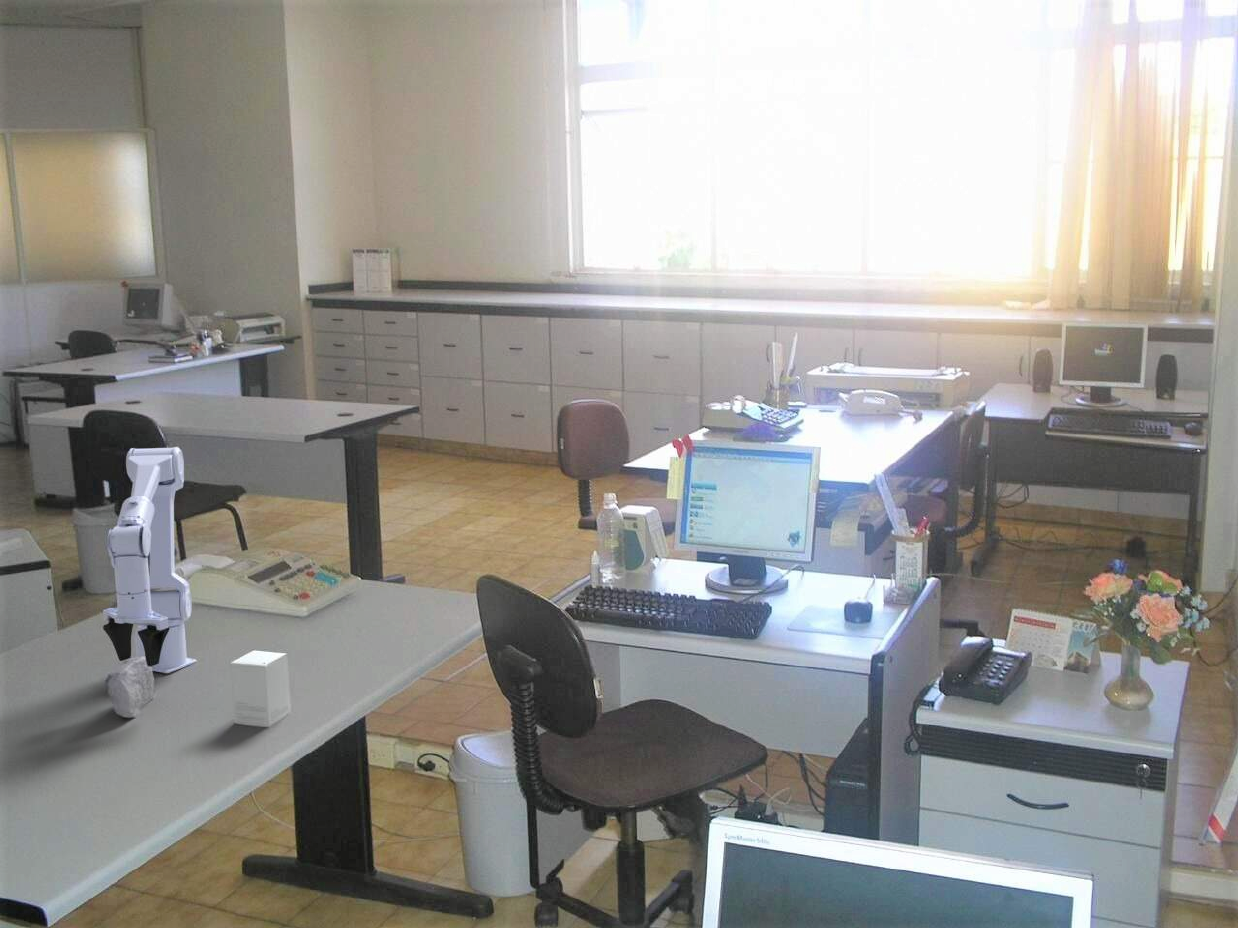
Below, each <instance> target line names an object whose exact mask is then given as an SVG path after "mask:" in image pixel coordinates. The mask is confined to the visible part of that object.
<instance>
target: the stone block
mask: <svg viewBox="0 0 1238 928" xmlns="http://www.w3.org/2000/svg"><path fill="white" fill-rule="evenodd" d="M153 672H154V671H152V669H151V667H149V666H147V663H146V657H144V656H139V657H136V656H135V657H131V658H129V659H126V660H124V662H123V663H122V664H120V665H119V666H118V667H116V668H115V669H114V670H113V671H111V672H110V673H108V675H107V678H106V679H105V680H104V682H105V685H106V687H107V693H108V695H109V697H110V700H111V704H112V708H113V710H114V712H115V714H116V715H118V716H120V717H123V718H125V719H126V718H127V719H134V718H136V717H138V715H139V714H140V710H141V709H142V708H143V707H145V706H147V704H148V703H150V701H152V700H153V699H155V693H156V690H155V677H154V674H153ZM139 709H140V710H139Z"/></svg>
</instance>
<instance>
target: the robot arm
mask: <svg viewBox="0 0 1238 928" xmlns="http://www.w3.org/2000/svg"><path fill="white" fill-rule="evenodd" d="M184 460H185V459H184V455H183V451H182V450H181V449H180V448H179V446H174V447H155V448H154V447H153V448H135V447H133V448H132V447H131V448H130V449H129V451H127V454H126V458H125V466H126V467H125V468H126V473H127V475H128V477H129V480H130V482H132V488H131V493H130V494H131V495H130V497H128V498H126V499H125V500H124V501H123V502H122V504H121V508H120V511H119V512H120V513H119V516H118V520H117V522H116V525H115V526H114V527H113V529H112V528H111V529H109V531H108V534H107V551H108V555H109V557H110V563H111V567H112V569H114V578H115V579H114V580H115V590H116V603H117V607H108V608H106V609H103V610H102V613H103V621H108V622H107V623H106V624H104V625H103V626H102V630H103V631H104V632H105V633H106V635H108V636H107V637H109V639H110V641H111V644H113V647H114V650H115V653H116V655H117V657H118V660H119V661H120V662H123V661H126V660H128V659H130V658H132V634H133V633H132V632H133V628H134V625H137V627H136V630H135V634H134V642H135V653H136V655H135V657H139V656H144V657H146V663H147V666H149V667H151V669H152V672H158V673H163V674H170V673H172V672H173V673H174V672H175V671H177V670H180V669H183V668H186V667H188V666H191V665H193V664H195V663H197V662H198V661H197V659H195V658H189V657H187V642H186V631H185V621H188V619H189V618H190V617H191V614H192V606H193V605H192V595H191V590H190V589H191V587H190V584H189V582H188V581H187V580H186V579H184V578H183V577H181V576H180V575H178V573H176V569H175V568H176V567H175V566H176V565H175V561H176V560H175V559H176V557H175V511H174V510H175V503H174V502H175V495H176V491H179V490H181V489H183V487H184V482H185V464H184V463H185V461H184ZM148 556H149V559H148ZM167 588H168V590H152V589H167ZM171 588H173V589H171ZM169 589H171V590H169ZM174 589H175V590H174Z"/></svg>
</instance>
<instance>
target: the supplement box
mask: <svg viewBox="0 0 1238 928" xmlns="http://www.w3.org/2000/svg"><path fill="white" fill-rule="evenodd" d="M230 673H231V685H232V686H231V688H232V701H233V712H234V723H235V724H238V725H244V726H253V727H261V728H262V727H263V728H271V727H272V726H274V725H275V724H276V723H278V722H279V721H281V720H283V718H284V717H286V716H287V715H289V714H290V713H291V712H292V705H291V704H292V703H291V690H290V677H289V675H290V674H289V663H288V654H287V653H283V652H272V651H262V650H252V651H250V652H248V653H245V654H244V655H243V656H240V657H239V658H237V659H235V660H233V661H231V662H230Z"/></svg>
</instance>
